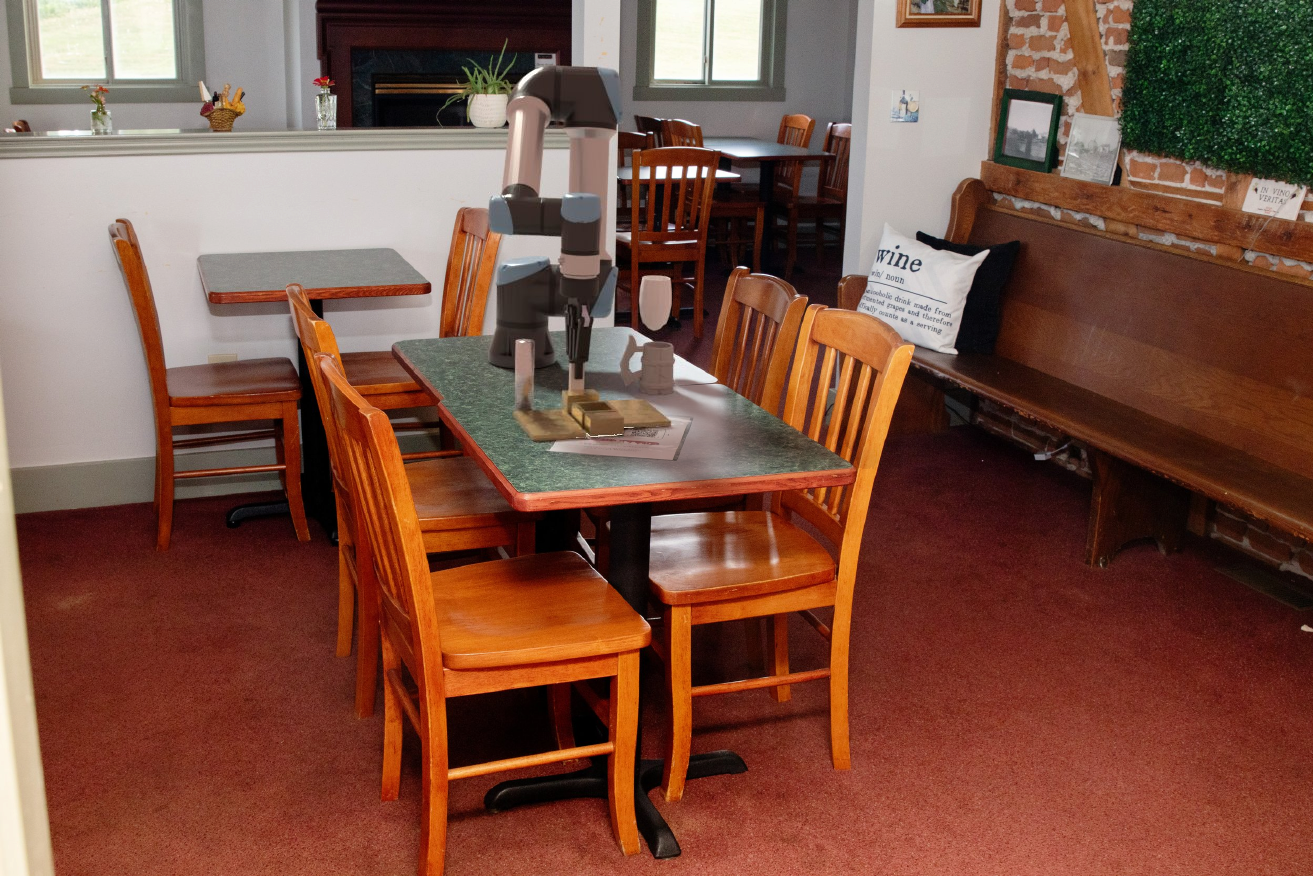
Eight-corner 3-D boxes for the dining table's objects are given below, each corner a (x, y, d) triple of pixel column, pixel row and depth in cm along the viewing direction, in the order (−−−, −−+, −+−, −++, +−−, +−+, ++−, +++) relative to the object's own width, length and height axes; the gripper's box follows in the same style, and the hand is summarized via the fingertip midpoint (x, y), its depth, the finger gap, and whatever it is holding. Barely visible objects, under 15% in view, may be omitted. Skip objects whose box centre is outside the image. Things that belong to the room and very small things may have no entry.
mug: (678, 395, 258) (681, 338, 254) (622, 395, 255) (624, 338, 252) (670, 385, 265) (672, 330, 262) (615, 386, 262) (617, 330, 259)
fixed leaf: (512, 416, 237) (513, 398, 236) (599, 412, 243) (600, 394, 242) (532, 441, 223) (533, 422, 222) (624, 435, 228) (625, 417, 227)
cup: (670, 367, 281) (675, 276, 275) (665, 374, 274) (670, 281, 268) (639, 364, 282) (643, 274, 276) (633, 371, 275) (637, 279, 269)
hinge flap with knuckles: (561, 407, 244) (562, 390, 243) (643, 403, 250) (644, 386, 249) (584, 430, 230) (584, 412, 229) (670, 426, 235) (671, 408, 234)
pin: (512, 409, 242) (513, 339, 238) (530, 408, 243) (532, 338, 239) (517, 414, 239) (518, 343, 234) (535, 413, 240) (536, 342, 236)
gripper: (552, 269, 243) (549, 386, 250) (569, 281, 231) (566, 403, 238) (588, 269, 245) (585, 385, 252) (608, 280, 234) (603, 401, 240)
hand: (576, 393), depth 245 cm, fingers closed
